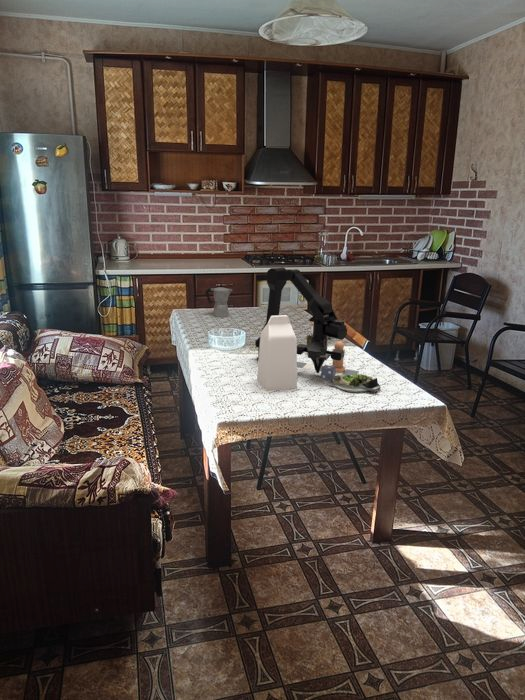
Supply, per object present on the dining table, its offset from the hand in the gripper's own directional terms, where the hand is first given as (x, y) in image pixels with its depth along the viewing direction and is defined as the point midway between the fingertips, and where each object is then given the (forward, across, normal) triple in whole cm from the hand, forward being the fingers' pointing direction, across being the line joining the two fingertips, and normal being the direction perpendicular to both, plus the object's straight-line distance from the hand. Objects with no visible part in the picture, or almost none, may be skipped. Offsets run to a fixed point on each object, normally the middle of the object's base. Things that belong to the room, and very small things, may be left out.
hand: (317, 372), depth 209 cm
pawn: (+1, +5, +10) cm, 11 cm away
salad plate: (+2, +16, -3) cm, 17 cm away
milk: (+2, -11, -15) cm, 19 cm away
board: (+2, 0, +10) cm, 10 cm away
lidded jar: (+2, -15, +56) cm, 58 cm away
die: (+2, +4, 0) cm, 4 cm away
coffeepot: (+2, -80, +74) cm, 109 cm away
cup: (+2, -10, +28) cm, 30 cm away
